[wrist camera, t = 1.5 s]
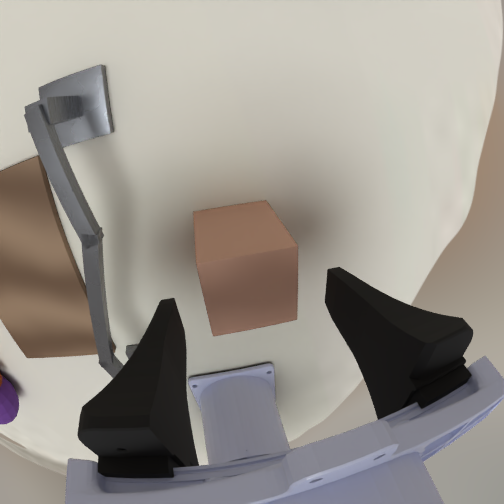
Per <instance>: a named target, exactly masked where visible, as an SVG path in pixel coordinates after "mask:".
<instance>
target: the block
mask: <svg viewBox="0 0 504 504" xmlns="http://www.w3.org/2000/svg"><path fill="white" fill-rule="evenodd" d="M193 216H194V236H195V252H196V265H197V269H198V274H199V279H200V283H201V288H202V292H203V296H204V301H205V305H206V309H207V313H208V318H209V322H210V326H211V330H212V334H213V336H218V335H224V334H230V333H235V332H240V331H245V330H251V329H256V328H261V327H265V326H270V325H275V324H280V323H284V322H289V321H293V320H297V304H298V245H297V244H296V242H295V241H294V240H293V238H292V237H291V235H290V234H289V232H288V231H287V229H286V228H285V227H284V225H283V224H282V222H281V221H280V219H279V218H278V217H277V215H276V214H275V212H274V211H273V210H272V208H271V207H270V205H269V204H268V202H267V201H266V200H265V201H258V202H251V203H244V204H238V205H231V206H225V207H219V208H213V209H207V210H201V211H195V212H193Z"/></svg>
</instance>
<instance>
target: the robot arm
mask: <svg viewBox="0 0 504 504" xmlns="http://www.w3.org/2000/svg"><path fill="white" fill-rule="evenodd" d="M325 304H326V306H327V309H328V311H329V313H330V315H331V318H332V320H333V321H334V323H335V325H336V327H337V328H338V330H339V332H340V333H341V335H342V336H343V338H344V340H345V341H346V343H347V345H348V346H349V348H350V350H351V351H352V353H353V355H354V357H355V359H356V361H357V363H358V365H359V368H360V370H361V372H362V375H363V377H364V380H365V382H366V385H367V387H368V390H369V392H370V396H371V399H372V401H373V405H374V408H375V411H376V415H377V418H378V420H377V421H374V422H371V423H368V424H365V425H363V426H360V427H358V428H355V429H352V430H350V431H347V432H344V433H341V434H338V435H335V436H332V437H329V438H326V439H323V440H320V441H316V442H313V443H310V444H307V445H305V446H301V447H297V448H294V449H290V447H289V444H288V441H287V437H286V434H285V431H284V428H283V425H282V422H281V419H280V415H279V412H278V409H277V406H276V400H275V378H274V366H273V364H270V363H268V364H263V365H258V366H254V367H249V368H244V369H238V370H233V371H227V372H222V373H216V374H210V375H204V376H197V377H191V378H189V379H188V384H189V386H190V388H191V391H192V393H193V395H194V397H195V399H196V402H197V404H198V406H199V408H200V410H201V412H202V420H203V428H204V435H205V443H206V450H207V456H208V463H209V465H201V466H199V464H198V459H197V455H196V450H195V445H194V440H193V435H192V429H191V423H190V417H189V410H188V402H187V391H186V340H185V331H184V327H183V324H182V321H181V318H180V315H179V312H178V309H177V305H176V302H175V299H174V298H170V299H164V300H161V301H160V303H159V305H158V307H157V309H156V312H155V314H154V316H153V318H152V320H151V322H150V324H149V326H148V328H147V330H146V332H145V334H144V336H143V337H142V339H141V341H140V343H139V344H138V346H137V348H136V349H135V351H134V352H133V354H132V355H131V357H130V358H129V360H128V361H127V362H126V364H125V365H124V366H123V368H122V369H121V370H120V371H119V373H118V374H117V375H116V376H115V377H114V378H113V380H112V381H111V382H110V383H109V384H108V385H107V386H106V387H105V388H104V389H103V390H102V391H100V392H99V393H98V394H97V395H96V396H95V397H94V398H92V399H91V400H90V401H89V402H88V403H86V404H85V405H84V406H83V407H82V411H81V414H80V420H79V428H78V438H79V440H80V441H81V442H82V443H83V444H84V445H85V446H86V447H88V448H89V449H90V450H91V451H93V452H94V453H95V454H97V455H98V463H97V462H95V461H91V460H81V459H72V458H69V459H68V465H67V479H66V497H65V504H444V503H443V500H442V499H441V497H440V495H439V492H438V490H437V488H436V487H435V484H434V483H433V481H432V479H431V477H430V475H429V473H428V471H427V469H426V467H425V465H424V463H423V461H425V460H427V459H428V458H430V457H431V456H433V455H435V454H436V453H438V452H439V451H441V450H442V449H443V448H445V447H447V446H448V445H449V444H451V443H452V442H454V441H455V440H457V439H458V438H459V437H461V436H462V435H463V434H465V433H466V432H467V431H469V430H470V429H471V428H473V427H474V426H475V425H476V424H477V423H479V422H480V421H482V420H483V419H484V418H486V417H487V416H488V415H489V414H490V413H491V412H492V410H493V409H494V408H495V407H496V406H497V405H498V404H499V403H500V402H501V401H502V400H503V398H504V379H503V377H502V376H501V375H500V373H499V372H498V371H497V370H496V368H495V367H494V366H493V364H492V363H491V362H490V361H489V359H488V358H487V357H486V356H483V357H482V358H480V359H479V360H477V361H476V362H474V363H473V364H471V365H470V366H469V367H468V368H466V367H465V366H464V364H465V362H466V360H465V358H464V357H463V354H464V352H465V351H466V349H467V347H468V346H469V344H470V342H471V340H472V337H473V330H472V329H471V327H470V326H469V325H468V324H467V323H466V322H465V320H464V319H463V318H459V317H452V316H446V315H441V314H437V313H432V312H429V311H425V310H422V309H419V308H416V307H413V306H411V305H408V304H406V303H403V302H401V301H399V300H396V299H394V298H392V297H390V296H388V295H386V294H384V293H382V292H381V291H379V290H377V289H375V288H373V287H372V286H370V285H368V284H367V283H365V282H363V281H362V280H360V279H358V278H357V277H355V276H354V275H352V274H350V273H349V272H347V271H345V270H344V269H342V268H340V267H336V268H331V269H328V271H327V283H326V295H325Z"/></svg>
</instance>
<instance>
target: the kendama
mask: <svg viewBox="0 0 504 504" xmlns="http://www.w3.org/2000/svg"><path fill="white" fill-rule="evenodd" d="M18 410H19V399H18V395H17V393H16V391H15V389H14V387H13V385H12V384H11V383H10V382H9V381H8V380H7V379H6V378H4V377H3V376H2V375H1V373H0V424H7V423H9V422H12V421H13V420H14V419H15V417H16V416H17V413H18Z"/></svg>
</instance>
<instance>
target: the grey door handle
mask: <svg viewBox="0 0 504 504" xmlns="http://www.w3.org/2000/svg"><path fill="white" fill-rule="evenodd" d="M39 96H40V100H39V101H37V102H34V103H32V104H30V105H28V106H25V112H26V114H24V116H25V119H26V122H27V125H28V131H29V132H30V133H31V136H32V138H33V141H34V143H35V146H36V149H37V151H38V154H39V156H40V158H41V161H42V163H43V165H44V168H45V170H46V172H47V175H48V177H49V179H50V181H51V183H52V186H53V188H54V190H55V192H56V194H57V196H58V198H59V200H60V202H61V204H62V206H63V208H64V210H65V212H66V214H67V216H68V218H69V220H70V222H71V224H72V226H73V227H74V229H75V231H76V233H77V235H78V237H79V238H80V240H81V242H82V253H83V264H84V274H85V282H86V290H87V297H88V304H89V310H90V316H91V322H92V327H93V332H94V338H95V342H96V347H97V352H98V356H99V364H100V365H101V367H103V368H104V369H105V370H106V371H107V372H108V373H109V374H110V375H111V376H112V377H113V378H114V377H115V376H116V375H117V374H118V373H119V371H120V370H121V369H122V368H123V366H124V365H123V364H122V363H121V362H120V361H119V360H118V359H117V358H116V356H115V355H114V352H113V346H112V339H111V333H110V326H109V318H108V310H107V301H106V291H105V279H104V265H103V244H102V238H103V236H104V234H103V232H102V228H101V227H99V225H98V223H97V221H96V219H95V217H94V215H93V213H92V211H91V209H90V207H89V205H88V203H87V201H86V199H85V197H84V195H83V193H82V191H81V188H80V186H79V184H78V182H77V180H76V178H75V175H74V173H73V171H72V169H71V166H70V164H69V162H68V159H67V157H66V154H65V152H64V150H63V147H66V146H69V145H72V144H75V143H79V142H82V141H85V140H88V139H92V138H95V137H99V136H102V135H106V134H110V133H112V132H114V129H113V123H112V117H111V110H110V103H109V96H108V88H107V80H106V71H105V66H103V65H98V66H95V67H92V68H89V69H86V70H83V71H80V72H77V73H74V74H71V75H69V76H66V77H63V78H61V79H58V80H56V81H53V82H51V83H48V84H46V85H44V86H41V87H39ZM137 346H138V345H131V346H126V355H127V357H128V358H130V357H131V355H132V354H133V352H134V351H135V349H136V348H137Z"/></svg>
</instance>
